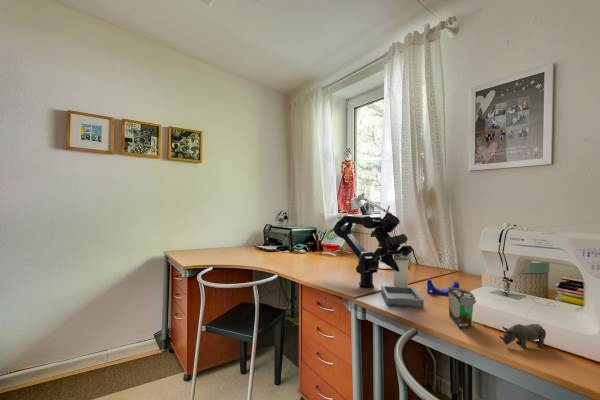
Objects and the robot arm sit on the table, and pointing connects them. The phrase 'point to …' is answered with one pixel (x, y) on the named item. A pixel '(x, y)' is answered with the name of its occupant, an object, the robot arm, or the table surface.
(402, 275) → the grey round glossy part
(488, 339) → the table surface
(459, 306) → the food container
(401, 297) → the charcoal tray
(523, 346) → the rhino figurine
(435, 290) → the cable clip
